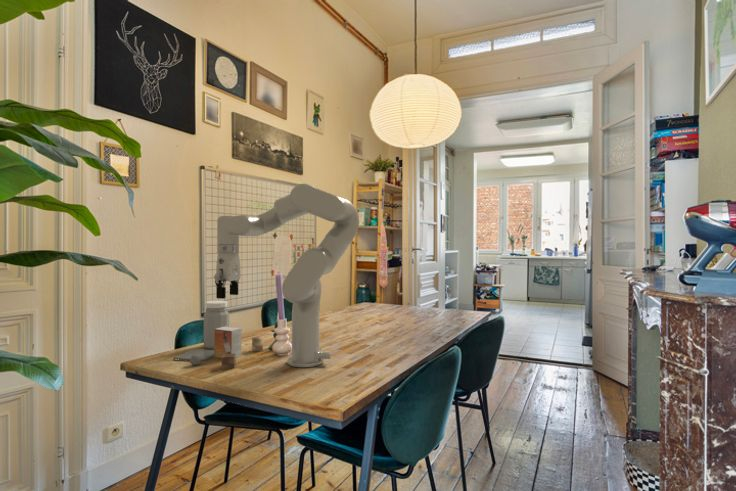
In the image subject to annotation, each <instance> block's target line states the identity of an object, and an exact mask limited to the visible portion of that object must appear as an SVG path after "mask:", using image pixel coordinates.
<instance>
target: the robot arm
mask: <svg viewBox="0 0 736 491" xmlns="http://www.w3.org/2000/svg"><path fill="white" fill-rule="evenodd" d="M307 214H310V215H313V216H315V217H318V218H321V219H323V220H325V221H328V222H333V223H334V224H333V226H332V227H331V228H330V230H329V231H328V232H327V233H326V234H325V236H324V238H323V239H322V241H321V242H320V243H319V244H318V246H317V247H311V248H308V249H307V250H305V251H304V252H303V253H301V255H300V257H299V258H298V259H297V261H296V263H295V264H294V265H293V266H292V268H291V270H290V271H289V272H288V274H287V275H286V277H285V278H284V280H283V282H282V285H281V292H282V295H283V297H284V299H285V300H286V301H288V302H289V303H292V308H291V356H290V357H288V358H287V360H286V362H287V364H288V365H289V366H290V367H295V368H313V367H316V366H317V367H318V366H320V365H322V364H323V363H324V360H331V359H332V354H331V353H330V352H328V351H322V350H323V348H322V347H320V306H321V296H322V283H321V280H320V279H321V278H322V276H324V275H327V274H329V273H331V272H332V271H333V270H334V269H335V267H336V265H337V264H338V262H339V260H341V258H342V256H343V255H344V253H346V250H347V249H348V247H349V246H350V244H351V243H352V241H353V240H354V239H355V237H356V235H357V232H358V230H359V226H360V218H359V213H358V211H357V208H356V207H355V205H354V204H353V203H352V202H350V200H348V199H346V198H344V197H340V196H338V195H336V194H335V195H334V194H332V193H330V192H327V191H324V190H322V189H319V188H318V187H315V186H313V185H311V184H308V183H299V184H297V185H295V186H294V187H293V188H292V189H291V190H290V193H289V194H287V195H285V196H283V197H280V198H278V199H276V200H275V201H274V203H273V207H272V208H271V209H269V210H267V211H264V212H263V213H261V214H258V215H251V214H249V215H248V214H239V215H220V216H218V218H217V221H216V222H217V223H216V224H217V229H216V230H217V232H216V233H217V234H216V235H217V237H216V238H217V239H216V240H217V241H216V242H217V243H216V244H217V245H216V250H217V251H216V253H217V258H216V259H217V260H216V269H215V270H216V271H215V272H216V273H215V274H214V276H213V277H214V283H215V288H216V295H215V296H216V297H215V298H216V299H220V300H221V299H223V300H224V299H226V290H227V289H226V284H227V282H229V283H230V284H229V295H230V296H238V295H239V284H240V281H239V280H240V279H241V261H240V245H239V244H240V237H241V236H242V237H259V236H263V235H265V234H267V233H269V232H273V231H274V230H277V229H278V228H281V227H282V226H284V225H285V224H286V223H287V222H290V221H292V220H295V219H297V218H300V217H302V216H305V215H307Z"/></svg>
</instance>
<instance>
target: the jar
mask: <svg viewBox="0 0 736 491" xmlns="http://www.w3.org/2000/svg"><path fill="white" fill-rule="evenodd" d="M225 326H226V327H230V313H229V311H228V300H224V299H223V300H221V299H220V300H218V299H217V300H209V301H208V300H207V301H205V312H204V313H203V346H204V347H205V349H206V350H214V337H215V329H217V328H221V327H225Z"/></svg>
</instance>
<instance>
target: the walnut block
mask: <svg viewBox="0 0 736 491" xmlns="http://www.w3.org/2000/svg"><path fill="white" fill-rule="evenodd" d="M236 359H237V358H236V354H223V356H222V358H221V370H229V369H232V368H234V369H235V367H236V365H237V364H236V363H237V362H236V361H237V360H236Z"/></svg>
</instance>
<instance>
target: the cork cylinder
mask: <svg viewBox="0 0 736 491" xmlns="http://www.w3.org/2000/svg"><path fill="white" fill-rule="evenodd" d="M251 340H252V341H251V352H253V353H260V352H263V351H264V347H263V346H264V344H263V342H264V338H263V336H253V337H252V338H251Z"/></svg>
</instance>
